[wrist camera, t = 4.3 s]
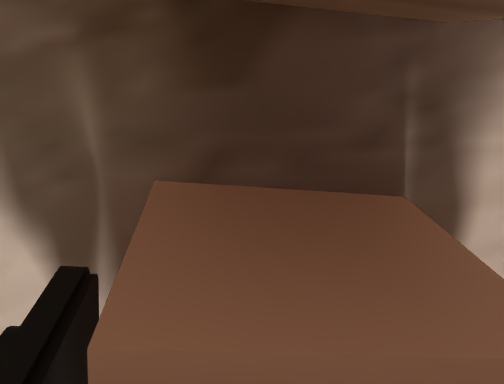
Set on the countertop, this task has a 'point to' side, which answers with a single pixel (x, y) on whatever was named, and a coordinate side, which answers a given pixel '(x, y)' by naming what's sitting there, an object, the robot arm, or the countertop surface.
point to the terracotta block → (296, 294)
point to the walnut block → (409, 8)
